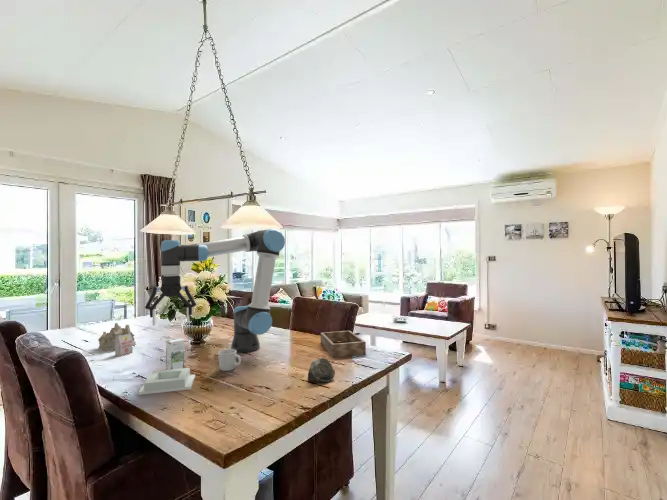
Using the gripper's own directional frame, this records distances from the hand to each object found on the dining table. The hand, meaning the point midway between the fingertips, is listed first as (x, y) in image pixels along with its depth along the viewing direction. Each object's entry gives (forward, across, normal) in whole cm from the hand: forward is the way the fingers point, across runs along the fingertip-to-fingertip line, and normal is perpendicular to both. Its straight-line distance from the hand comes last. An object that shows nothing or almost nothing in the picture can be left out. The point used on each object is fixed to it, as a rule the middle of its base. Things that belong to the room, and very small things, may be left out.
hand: (171, 323), depth 153 cm
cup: (+21, -25, +5) cm, 33 cm away
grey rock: (+21, +36, -54) cm, 68 cm away
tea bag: (+21, +29, -37) cm, 51 cm away
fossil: (+21, -60, +29) cm, 70 cm away
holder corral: (+21, -82, -12) cm, 85 cm away
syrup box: (+21, -2, +2) cm, 21 cm away
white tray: (+21, -1, +16) cm, 27 cm away
